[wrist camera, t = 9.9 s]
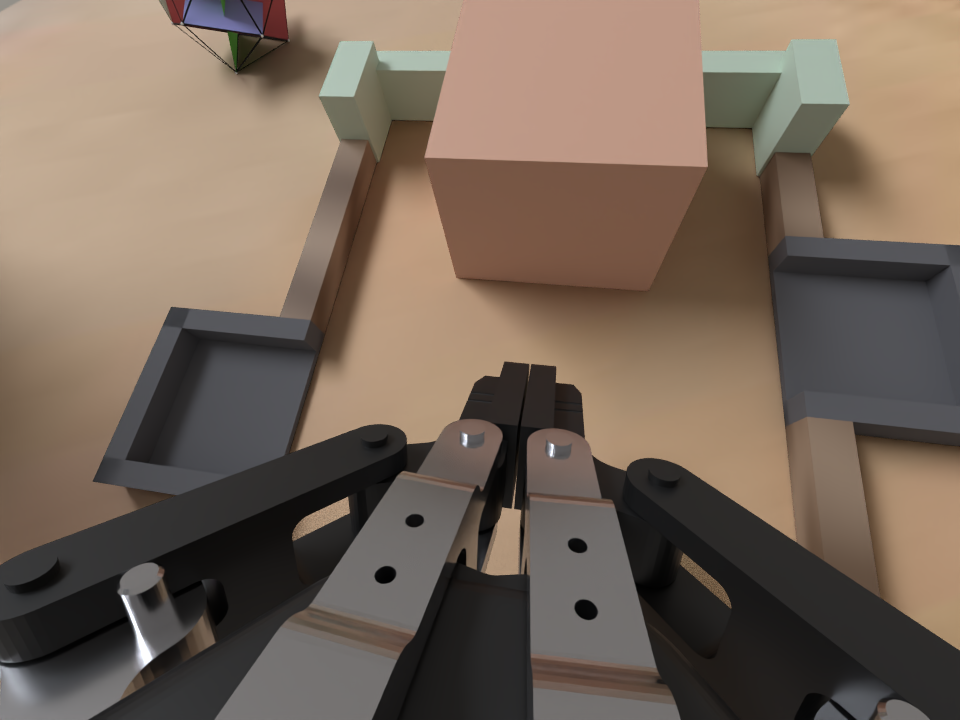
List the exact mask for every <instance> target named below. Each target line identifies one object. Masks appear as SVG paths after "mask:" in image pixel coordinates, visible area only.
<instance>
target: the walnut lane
mask: <svg viewBox="0 0 960 720" xmlns="http://www.w3.org/2000/svg"><path fill="white" fill-rule="evenodd" d="M376 163H377V161H376V159H375V156H374V154H373V151H372V149H371V146H370V144H369V141H368V140H357V139H341V142H340V145H339V147H338V150H337V153H336V156H335V159H334V162H333V165H332V168H331V170H330V173H329V176H328V179H327V182H326V185H325V188H324V191H323V193H322V196H321V199H320V202H319V205H318V208H317V211H316V214H315V216H314V219H313V222H312V225H311V228H310V231H309V234H308V237H307V240H306V242H305V245H304V248H303V251H302V254H301V257H300V260H299V263H298V265H297V268H296V271H295V274H294V277H293V280H292V283H291V286H290V288H289V291H288V294H287V297H286V300H285V303H284V306H283V309H282V311H281V314H280V317H284V318H295V319H305V320H311V321H312V322H313V323H314V324H315V325H316V326H317V327H318V328H319V329H320V330H321V331H322V332H323V333H324V334H325V332H326V328H327V325H328V322H329V318H330V315H331V312H332V309H333V305H334V302H335V299H336V295H337V292H338V289H339V285H340V282H341V279H342V275H343V272H344V269H345V265H346V262H347V259H348V256H349V252H350V249H351V246H352V242H353V239H354V236H355V232H356V229H357V226H358V222H359V219H360V216H361V212H362V209H363V206H364V202H365V199H366V196H367V193H368V189H369V186H370V183H371V179H372V176H373V173H374V169H375V166H376ZM760 182H761V191H762V201H763V211H764V221H765V231H766V241H767V251H768V256H769V255H770V254H771V252H772V251H773V250H774V249H775V248H776V246H777V245H778V244H779V243H780V242H781V240H782V239H783V238H784V237H785V236H797V237H816V238H824V236H823V230H822V223H821V217H820V211H819V204H818V198H817V192H816V185H815V179H814V173H813V166H812V160H811V154H810V153H793V152H775V153H774V155H773V156H772V158H771V160H770V161H769V163H768V164H767V166H766V167H765V169H764V171H763V172H762V174H761V175H760ZM785 429H786V438H787V448H788V458H789V468H790V478H791V488H792V498H793V508H794V518H795V527H796V537H797V543H798V544H799V545H801V546H802V547H804V548H805V549H807V550H808V551H810V552H811V553H813V554H815V555H816V556H818V557H819V558H821V559H822V560H824V561H825V562H827V563H828V564H830V565H831V566H833V567H834V568H836V569H837V570H839V571H840V572H842V573H843V574H845V575H846V576H848V577H849V578H851V579H852V580H854V581H855V582H857V583H858V584H860V585H861V586H863V587H864V588H866V589H867V590H869V591H870V592H872V593H873V594H875V595H876V596H878V597H879V598H880V592H879V585H878V579H877V573H876V566H875V560H874V554H873V547H872V541H871V535H870V528H869V522H868V516H867V509H866V503H865V496H864V490H863V484H862V477H861V471H860V465H859V458H858V452H857V446H856V439H855V433H854V427H853V422H851V421H842V420H833V419H823V418H814V417H805V418H803V419H801V420H799V421H797V422H794V423H792V424H790V425H788V426H786V427H785Z"/></svg>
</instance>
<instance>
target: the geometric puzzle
mask: <svg viewBox="0 0 960 720" xmlns="http://www.w3.org/2000/svg"><path fill="white" fill-rule="evenodd" d="M159 1H160V3H161V4H162V6H163V8H164V10H165V11H166V13H167V15H168V16H169V18H170V20H171V21H172V22H171V24H172V25H175V26H176V25H182V26H185V27H186V26H188V27H195V28H201V29H207V30H214V31H220V32H227V33H228V37H229V41H230V46H231V51H232V55H233V60H234V64H235V69H236V70H234V69H233V68H231V67H230V66H229V65H228V64H227V63H226V62H225V61H224V60H223V59H221V58H220V57H219V56H218V55H217V54H216V53H215V52H214V51H213V50H211V49H210V48H209V47H208V46H207V45H206V44H205V43H204V42H203V41H202V40H200V39H199V38H198V37H197V36H196V35H195V34H194V33H193V32H192V31H190V30H189V29H188V28H187V27H186V28H187V29H188V30H189V31H190V32H191V33H193V34H194V35H195V36H196V37H197V38H198V39H199V40H200V41H201V42H203V43H204V44H205V45H206V46H207V47H208V48H209V49H210V50H211V51H213V52H214V53H215V54H216V55H217V56H218V57H219V58H220V59H221V60H223V61H224V62H225V63H226V64H227V66H228V67H230V68H231V69H232V70H233V71H235V74H238V70H239V69H240V68H241V66H242V65H243V64H244V62H245V61H246V59H247V58H248V57H249V55H250V54H251V53H252V51H253V50H254V48H255V47H256V46H257V44H258V43H259V42H260V40H261V39H262V38H268V39H275V40H282V41H286V42H290V40H289V38H288V28H287V19H286V9H285V0H159ZM178 28H179V27H178ZM179 29H180V28H179ZM180 30H181V29H180ZM182 31H183V30H182ZM183 32H184V31H183ZM184 33H185V32H184ZM187 35H188V34H187ZM239 35H246V36H253V37H261V38H260V39H259V40H258V42H257V43H256V44H255V46H254V47H253V49H252V50H251V51H250V53H249V54H248V56H247V57H246V58H245V60H244V61H243V62H242V64H241V65H240V67H239V68H238V69H237V64H238V36H239ZM188 36H189V35H188ZM189 37H190V36H189ZM191 38H192V37H191ZM192 39H193V38H192ZM193 40H194V39H193ZM196 42H197V41H196ZM286 42H285V43H286ZM197 43H198V42H197ZM283 44H284V43H283ZM283 44H282V45H283ZM200 45H201V44H200ZM201 46H202V45H201ZM280 46H281V45H280ZM202 47H203V46H202ZM278 47H279V46H278ZM278 47H277V48H278ZM205 49H206V48H205ZM275 49H276V48H275ZM206 50H207V49H206ZM273 50H274V49H273ZM273 50H272V51H273ZM209 52H210V51H209ZM270 52H271V51H270ZM270 52H268V53H270ZM210 53H211V52H210ZM268 53H267V54H268ZM211 54H212V53H211ZM213 55H214V54H213ZM265 55H266V54H265ZM265 55H263V56H265ZM214 56H215V55H214ZM263 56H262V57H263ZM215 57H216V56H215ZM219 58H218V59H219ZM260 58H261V57H260ZM260 58H259V59H260ZM220 59H219V60H220ZM257 60H258V59H257ZM223 61H222V62H223ZM255 61H256V60H255ZM255 61H254V62H255ZM224 62H223V63H224ZM225 63H224V64H225ZM252 63H253V62H252ZM250 64H251V63H250ZM250 64H249V65H250ZM247 66H248V65H247ZM245 67H246V66H245ZM245 67H244V68H245ZM242 69H243V68H242ZM242 69H240V70H242ZM240 70H239V71H240Z"/></svg>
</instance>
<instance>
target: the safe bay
mask: <svg viewBox="0 0 960 720" xmlns="http://www.w3.org/2000/svg"><path fill="white" fill-rule="evenodd" d="M450 52H451V51H376V49H375V45H374V42H373V41H340V43H339V46H338V48H337V51H336V53H335V56H334V58H333V61H332V63H331V66H330V69H329V71H328V74H327V76H326V79H325V81H324V84H323V87H322V89H321V92H320V94H319V98H320V100H321V102H322V104H323V106H324V108H325V111H326V113H327V115H328V117H329V119H330V121H331V123H332V126H333V128H334V130H335V132H336V134H337V136H338V138H339V141H340V142H341V139H357V140H368V141H369V144H370V146H371V149H372V151H373V154H374V156H375V159H376V161H377V162H379V161H380V158H381V154H382V151H383V148H384V144H385V141H386V138H387V134H388V131H389V128H390V124H391V121H392V120H420V121H434V117H435V113H436V109H437V105H438V101H439V97H440V93H441V89H442V85H443V81H444V76H445V72H446V68H447V64H448V60H449V56H450ZM702 67H703V86H704V105H705V124H706V127H727V128H752V134H753V144H754V154H755V164H756V174H757V176H760V175H761V174H762V172H763V171H764V169H765V167H766V166H767V164H768V163H769V161H770V160H771V158H772V156H773V155H774V153H775V152H793V153H810V154H811V156H812V155H813V154H814V152H815V151H816V150H817V148H818V147H819V145H820V144H821V143H822V141H823V140H824V139H825V137H826V136H827V135H828V133H829V132H830V130H831V129H832V128H833V126H834V125H835V124H836V122H837V121H838V119H839V118H840V117H841V115H842V114H843V113H844V111H845V110H846V109H847V107H848V106H849V104H850V103H849V99H848V94H847V89H846V84H845V80H844V75H843V70H842V65H841V61H840V56H839V51H838V46H837V42H836V39H798V40H791V42H790V44H789V46H788V48H787V50H786V51H702Z"/></svg>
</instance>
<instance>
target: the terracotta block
mask: <svg viewBox="0 0 960 720" xmlns="http://www.w3.org/2000/svg"><path fill="white" fill-rule="evenodd" d="M424 158H425V162H426V166H427V169H428V173H429V177H430V181H431V184H432V188H433V192H434V196H435V199H436V203H437V207H438V211H439V214H440V218H441V222H442V226H443V229H444V233H445V237H446V241H447V244H448V248H449V252H450V256H451V259H452V263H453V267H454V271H455V274H456V278H470V279H484V280H498V281H512V282H526V283H540V284H554V285H568V286H582V287H596V288H610V289H624V290H638V291H649V289H650V287H651V285H652V283H653V281H654V279H655V277H656V274H657V272H658V270H659V268H660V266H661V264H662V262H663V260H664V258H665V256H666V253H667V251H668V249H669V247H670V245H671V243H672V241H673V239H674V237H675V235H676V232H677V230H678V228H679V226H680V224H681V222H682V220H683V218H684V216H685V214H686V212H687V209H688V207H689V205H690V203H691V201H692V199H693V197H694V195H695V193H696V191H697V188H698V186H699V184H700V182H701V180H702V178H703V176H704V174H705V172H706V170H707V168H708V162H707V143H706V124H705V105H704V86H703V67H702V48H701V29H700V10H699V0H463V4H462V8H461V12H460V16H459V20H458V24H457V28H456V32H455V36H454V40H453V44H452V48H451V52H450V56H449V60H448V64H447V68H446V72H445V76H444V81H443V85H442V89H441V93H440V97H439V101H438V105H437V109H436V113H435V117H434V121H433V125H432V129H431V133H430V137H429V141H428V145H427V149H426V153H425V157H424Z"/></svg>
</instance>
